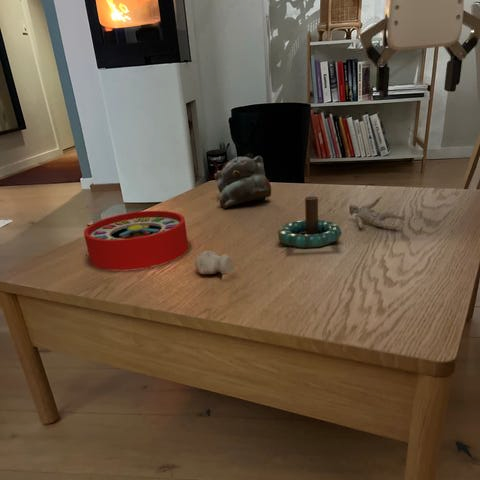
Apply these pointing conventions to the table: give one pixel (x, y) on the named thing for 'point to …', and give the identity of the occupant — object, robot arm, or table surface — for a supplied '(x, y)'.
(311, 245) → the bracelet
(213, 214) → the table surface
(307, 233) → the stand
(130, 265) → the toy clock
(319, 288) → the table surface
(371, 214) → the soldier figure
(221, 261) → the pale two-lobed sculpture
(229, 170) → the grey stacked animal sculpture
